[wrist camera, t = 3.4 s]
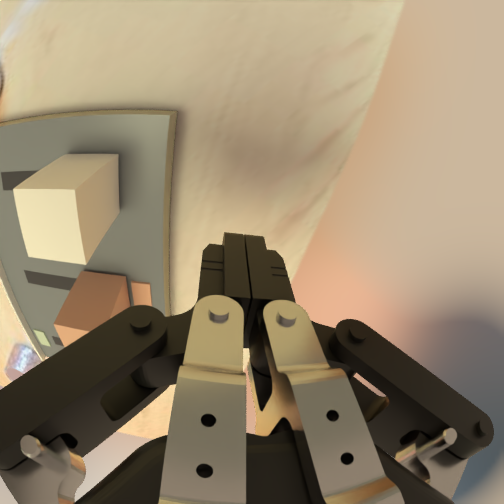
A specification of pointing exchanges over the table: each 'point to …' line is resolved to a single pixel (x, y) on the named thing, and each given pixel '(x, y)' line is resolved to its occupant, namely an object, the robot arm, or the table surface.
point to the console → (120, 232)
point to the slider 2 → (91, 304)
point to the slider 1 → (68, 206)
